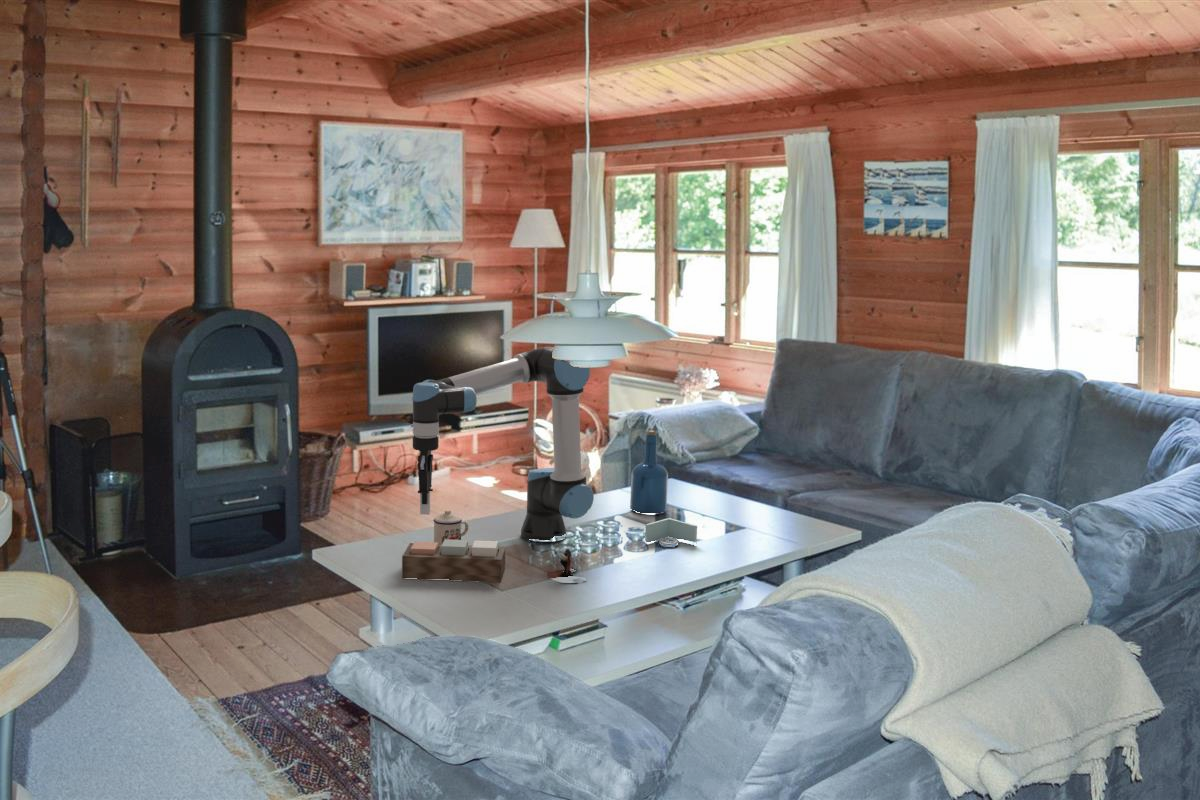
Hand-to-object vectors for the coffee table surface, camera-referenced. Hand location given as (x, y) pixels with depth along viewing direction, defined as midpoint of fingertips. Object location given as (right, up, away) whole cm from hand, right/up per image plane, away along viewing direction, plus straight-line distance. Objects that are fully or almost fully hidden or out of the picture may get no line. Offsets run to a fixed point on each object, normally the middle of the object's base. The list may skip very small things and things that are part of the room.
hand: (425, 513), depth 344 cm
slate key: (+8, -14, +2) cm, 16 cm away
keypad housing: (+8, -18, +3) cm, 20 cm away
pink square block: (-1, -15, +2) cm, 15 cm away
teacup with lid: (+4, -13, +32) cm, 35 cm away
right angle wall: (+75, -15, +40) cm, 86 cm away
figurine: (+42, -20, +5) cm, 47 cm away
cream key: (+17, -14, +2) cm, 23 cm away
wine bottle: (+69, -7, +80) cm, 106 cm away
